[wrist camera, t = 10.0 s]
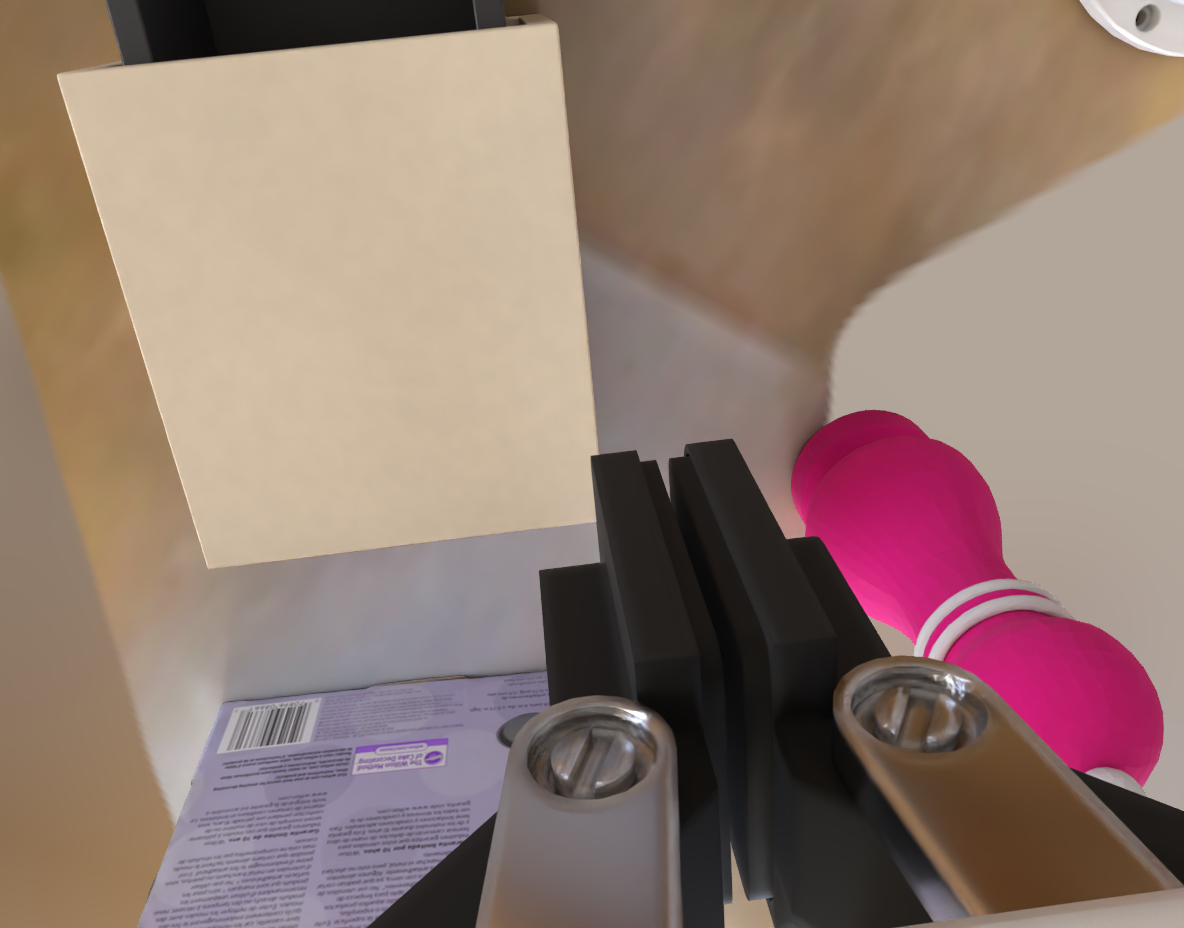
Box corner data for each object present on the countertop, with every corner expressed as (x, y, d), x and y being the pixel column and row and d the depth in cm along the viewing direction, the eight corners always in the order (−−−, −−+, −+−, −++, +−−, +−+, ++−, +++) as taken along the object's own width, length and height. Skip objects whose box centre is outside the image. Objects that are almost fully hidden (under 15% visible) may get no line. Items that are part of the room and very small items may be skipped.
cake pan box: (217, 783, 47) (76, 1192, 31) (192, 699, 45) (26, 1092, 29) (620, 738, 48) (683, 1112, 32) (615, 654, 46) (680, 1010, 30)
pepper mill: (919, 370, 41) (1255, 671, 23) (960, 509, 44) (1283, 870, 26) (756, 438, 42) (958, 783, 24) (807, 571, 45) (1020, 964, 27)
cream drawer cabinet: (167, 51, 33) (54, 73, 25) (541, 13, 34) (558, 22, 25) (269, 444, 40) (207, 570, 31) (581, 406, 40) (605, 521, 32)
